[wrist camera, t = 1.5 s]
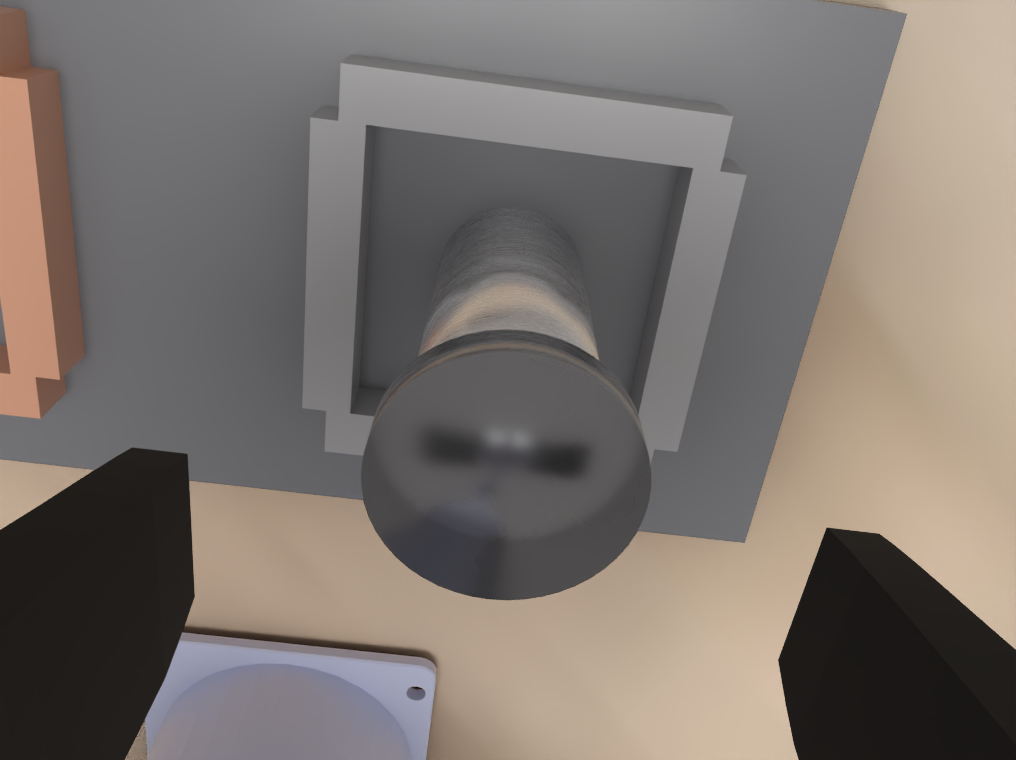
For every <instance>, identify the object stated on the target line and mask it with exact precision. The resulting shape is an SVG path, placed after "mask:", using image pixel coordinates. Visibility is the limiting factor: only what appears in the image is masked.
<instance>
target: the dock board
mask: <svg viewBox="0 0 1016 760" xmlns="http://www.w3.org/2000/svg"><path fill="white" fill-rule="evenodd" d="M906 16H907V14H905V13H901V12H897V11H892V10H888V9H881V8H874V7H867V6H860V5H853V4H846V3H839V2H832V1H825V0H0V459H2V460H11V461H20V462H29V463H38V464H47V465H56V466H65V467H74V468H83V469H91V470H95V469H97V468H99V467H100V466H102V465H103V464H105V463H107V462H108V461H110V460H111V459H113V458H115V457H116V456H118V455H120V454H121V453H123V452H125V451H127V450H128V449H130V448H132V447H134V448H142V449H151V450H160V451H168V452H177V453H185V454H188V470H189V481H198V482H207V483H216V484H225V485H234V486H243V487H252V488H261V489H270V490H279V491H288V492H296V493H305V494H314V495H323V496H332V497H341V498H350V499H359V500H363V494H362V488H361V467H362V460H363V454H364V450H365V447H366V444H367V440H368V437H369V433H370V430H371V427H372V423H373V420H374V417H375V413H376V410H377V407H378V405H379V403H380V401H381V399H382V397H383V395H384V393H385V392H386V390H387V389H388V387H389V386H390V385H391V383H392V382H393V380H394V379H395V378H396V377H397V376H398V375H399V374H400V373H401V371H402V370H403V369H404V368H405V367H406V366H408V365H409V364H410V363H411V362H412V361H414V360H415V359H416V358H417V357H418V355H419V350H420V346H421V342H422V337H423V333H424V329H425V324H426V320H427V316H428V311H429V307H430V303H431V298H432V294H433V290H434V285H435V281H436V277H437V272H438V268H439V264H440V260H441V257H442V253H443V251H444V249H445V246H446V244H447V243H448V241H449V240H450V238H451V237H452V235H453V234H454V233H455V232H456V231H457V229H458V228H460V227H461V226H462V225H463V224H464V223H465V222H467V221H468V220H470V219H471V218H473V217H475V216H477V215H479V214H481V213H484V212H487V211H490V210H494V209H499V208H522V209H527V210H531V211H534V212H537V213H540V214H542V215H544V216H546V217H548V218H549V219H551V220H552V221H554V222H555V223H557V224H558V225H559V226H560V227H561V228H562V229H563V230H564V231H565V232H566V233H567V234H568V235H569V237H570V238H571V240H572V241H573V243H574V245H575V247H576V249H577V251H578V254H579V257H580V260H581V265H582V271H583V276H584V281H585V287H586V292H587V297H588V303H589V308H590V313H591V319H592V324H593V329H594V335H595V340H596V346H597V351H598V356H599V361H600V362H601V363H602V364H604V365H605V366H606V367H607V368H608V369H609V370H610V371H611V372H612V373H613V374H614V375H615V376H616V377H617V378H618V379H619V381H620V382H621V383H622V385H623V386H624V388H625V389H626V391H627V392H628V394H629V395H630V397H631V399H632V401H633V403H634V405H635V407H636V409H637V413H638V416H639V419H640V422H641V426H642V430H643V434H644V438H645V442H646V446H647V450H648V454H649V460H650V466H651V492H650V498H649V504H648V507H647V510H646V513H645V516H644V519H643V521H642V523H641V525H640V527H639V529H638V531H644V532H653V533H662V534H671V535H680V536H689V537H697V538H706V539H715V540H724V541H733V542H742V543H745V540H746V537H747V533H748V530H749V527H750V524H751V520H752V517H753V514H754V511H755V507H756V504H757V501H758V498H759V494H760V491H761V488H762V485H763V481H764V478H765V475H766V471H767V468H768V465H769V462H770V458H771V455H772V452H773V449H774V445H775V442H776V439H777V436H778V432H779V429H780V426H781V423H782V419H783V416H784V413H785V410H786V406H787V403H788V400H789V397H790V393H791V390H792V387H793V384H794V380H795V377H796V374H797V371H798V367H799V364H800V361H801V358H802V354H803V351H804V348H805V345H806V341H807V338H808V335H809V331H810V328H811V325H812V322H813V318H814V315H815V312H816V309H817V305H818V302H819V299H820V296H821V292H822V289H823V286H824V283H825V279H826V276H827V273H828V270H829V266H830V263H831V260H832V257H833V253H834V250H835V247H836V244H837V240H838V237H839V234H840V231H841V227H842V224H843V221H844V218H845V214H846V211H847V208H848V205H849V201H850V198H851V195H852V191H853V188H854V185H855V182H856V178H857V175H858V172H859V169H860V165H861V162H862V159H863V156H864V152H865V149H866V146H867V143H868V139H869V136H870V133H871V130H872V126H873V123H874V120H875V117H876V113H877V110H878V107H879V104H880V100H881V97H882V94H883V91H884V87H885V84H886V81H887V78H888V74H889V71H890V68H891V65H892V61H893V58H894V55H895V51H896V48H897V45H898V42H899V38H900V35H901V32H902V29H903V25H904V22H905V19H906Z"/></svg>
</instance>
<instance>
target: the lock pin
mask: <svg viewBox="0 0 1016 760" xmlns="http://www.w3.org/2000/svg"><path fill="white" fill-rule="evenodd" d="M361 488H362V494H363V500H364V504H365V507H366V510H367V513H368V516H369V519H370V520H371V522H372V524H373V526H374V528H375V530H376V532H377V534H378V535H379V537H380V538H381V540H382V541H383V542H384V544H385V545H386V546H387V547H388V549H389V550H390V551H391V552H392V553H393V554H394V555H395V556H396V557H397V558H398V559H399V560H400V561H401V562H402V563H404V564H405V565H406V566H407V567H408V568H409V569H411V570H412V571H414V572H415V573H417V574H418V575H420V576H421V577H423V578H425V579H427V580H429V581H430V582H432V583H434V584H436V585H438V586H441V587H443V588H446V589H449V590H451V591H454V592H457V593H461V594H465V595H468V596H472V597H479V598H485V599H496V600H520V599H529V598H536V597H542V596H546V595H550V594H554V593H558V592H561V591H563V590H566V589H568V588H571V587H574V586H576V585H578V584H580V583H582V582H584V581H586V580H588V579H590V578H591V577H593V576H594V575H596V574H597V573H599V572H600V571H602V570H603V569H605V568H606V567H607V566H608V565H609V564H610V563H612V562H613V561H614V560H615V559H616V558H617V557H618V556H619V555H620V554H621V553H622V552H623V550H624V549H625V548H626V547H627V546H628V545H629V543H630V542H631V540H632V539H633V537H634V536H635V534H636V533H637V531H638V529H639V527H640V525H641V523H642V521H643V519H644V516H645V513H646V510H647V507H648V504H649V498H650V492H651V466H650V460H649V454H648V450H647V446H646V442H645V438H644V434H643V430H642V426H641V422H640V419H639V416H638V413H637V409H636V407H635V405H634V403H633V401H632V399H631V397H630V395H629V394H628V392H627V391H626V389H625V388H624V386H623V385H622V383H621V382H620V381H619V379H618V378H617V377H616V376H615V375H614V374H613V373H612V372H611V371H610V370H609V369H608V368H607V367H606V366H605V365H604V364H602V363H601V362H600V361H599V356H598V351H597V346H596V340H595V335H594V329H593V324H592V319H591V313H590V308H589V303H588V297H587V292H586V287H585V281H584V276H583V271H582V265H581V260H580V257H579V254H578V251H577V249H576V247H575V245H574V243H573V241H572V240H571V238H570V237H569V235H568V234H567V233H566V232H565V231H564V230H563V229H562V228H561V227H560V226H559V225H558V224H557V223H555V222H554V221H552V220H551V219H549V218H548V217H546V216H544V215H542V214H540V213H537V212H534V211H531V210H527V209H522V208H499V209H494V210H490V211H487V212H484V213H481V214H479V215H477V216H475V217H473V218H471V219H470V220H468V221H467V222H465V223H464V224H463V225H462V226H461V227H460V228H458V229H457V231H456V232H455V233H454V234H453V235H452V237H451V238H450V240H449V241H448V243H447V244H446V246H445V249H444V251H443V253H442V257H441V260H440V264H439V268H438V272H437V277H436V281H435V285H434V290H433V294H432V298H431V303H430V307H429V311H428V316H427V320H426V324H425V329H424V333H423V337H422V342H421V346H420V350H419V355H418V357H417V358H416V359H415V360H414V361H412V362H411V363H410V364H409V365H408V366H406V367H405V368H404V369H403V370H402V371H401V373H400V374H399V375H398V376H397V377H396V378H395V379H394V380H393V382H392V383H391V385H390V386H389V387H388V389H387V390H386V392H385V393H384V395H383V397H382V399H381V401H380V403H379V405H378V407H377V410H376V413H375V417H374V420H373V423H372V427H371V430H370V433H369V437H368V440H367V444H366V447H365V450H364V454H363V460H362V467H361Z"/></svg>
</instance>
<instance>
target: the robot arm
mask: <svg viewBox="0 0 1016 760" xmlns="http://www.w3.org/2000/svg"><path fill="white" fill-rule="evenodd" d="M194 597H195V595H194V574H193V554H192V533H191V512H190V491H189V470H188V454H185V453H177V452H168V451H160V450H151V449H142V448H134V447H132V448H130V449H128V450H127V451H125V452H123V453H121V454H120V455H118V456H116V457H115V458H113V459H111V460H110V461H108V462H107V463H105V464H103V465H102V466H100V467H99V468H97V469H95V470H94V471H92V472H91V473H89V474H88V475H86V476H85V477H83V478H81V479H80V480H78V481H77V482H75V483H74V484H72V485H71V486H69V487H68V488H66V489H64V490H63V491H61V492H60V493H58V494H57V495H55V496H54V497H52V498H50V499H49V500H47V501H46V502H44V503H43V504H41V505H39V506H38V507H36V508H35V509H33V510H31V511H30V512H28V513H27V514H25V515H23V516H22V517H20V518H19V519H17V520H15V521H14V522H12V523H11V524H9V525H7V526H6V527H4V528H3V529H1V530H0V760H125V758H126V756H127V754H128V752H129V750H130V748H131V746H132V744H133V742H134V740H135V738H136V736H137V734H138V732H139V730H140V728H141V726H142V724H143V722H144V720H145V728H146V741H147V754H148V756H147V759H146V760H426V756H427V748H428V740H429V732H430V724H431V715H432V707H433V699H434V691H435V683H436V675H437V671H436V667H435V665H434V664H433V662H431V661H429V660H428V659H425V658H421V657H413V656H404V655H394V654H385V653H375V652H365V651H356V650H346V649H337V648H327V647H317V646H308V645H298V644H289V643H279V642H269V641H260V640H250V639H241V638H231V637H221V636H212V635H202V634H193V633H183V632H182V631H183V628H184V626H185V623H186V620H187V617H188V614H189V611H190V608H191V605H192V602H193V600H194ZM778 661H779V667H780V673H781V679H782V684H783V690H784V696H785V702H786V707H787V712H788V717H789V722H790V727H791V732H792V737H793V742H794V746H795V749H796V752H797V755H798V759H799V760H1016V650H1015V649H1014V648H1013V647H1012V646H1011V645H1010V644H1008V643H1007V642H1006V641H1005V640H1004V639H1003V638H1001V637H1000V636H999V635H998V634H997V633H996V632H995V631H993V630H992V629H991V628H990V627H989V626H988V625H986V624H985V623H984V622H983V621H982V620H981V619H980V618H978V617H977V616H976V615H975V614H974V613H973V612H972V611H970V610H969V609H968V608H967V607H966V606H965V605H964V604H962V603H961V602H960V601H959V600H958V599H957V598H956V597H955V596H953V595H952V594H951V593H950V592H949V591H948V590H947V589H945V588H944V587H943V586H942V585H941V584H940V583H939V582H937V581H936V580H935V579H934V578H933V577H932V576H930V575H929V574H928V573H927V572H926V571H925V570H923V569H922V568H921V567H920V566H919V565H918V564H917V563H915V562H914V561H913V560H912V559H911V558H909V557H908V556H907V555H906V554H905V553H903V552H902V551H901V550H900V549H898V548H897V547H896V546H895V545H893V544H892V543H891V542H889V541H888V540H887V539H885V538H884V537H883V536H882V535H880V534H876V533H868V532H859V531H851V530H842V529H833V528H826V531H825V534H824V536H823V539H822V542H821V545H820V547H819V550H818V553H817V556H816V558H815V561H814V564H813V567H812V569H811V572H810V575H809V577H808V580H807V583H806V586H805V588H804V591H803V594H802V597H801V599H800V602H799V605H798V608H797V610H796V613H795V616H794V619H793V621H792V624H791V627H790V629H789V632H788V635H787V638H786V640H785V643H784V646H783V649H782V651H781V654H780V657H779V660H778ZM416 686H417V687H420V688H422V689H418V690H416V689H413V688H411V687H416Z"/></svg>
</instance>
